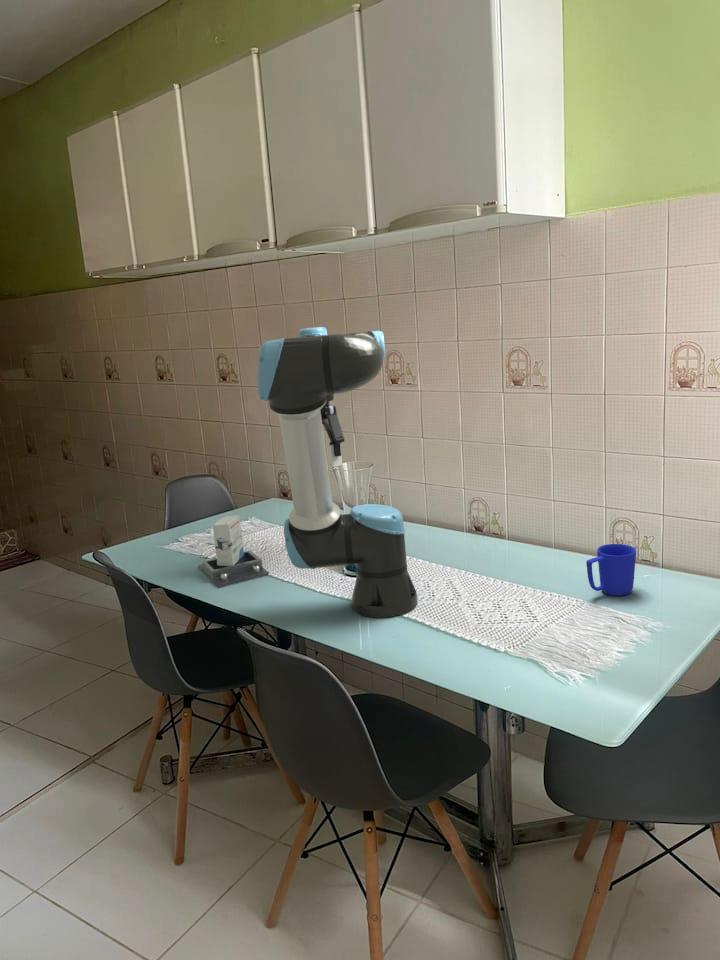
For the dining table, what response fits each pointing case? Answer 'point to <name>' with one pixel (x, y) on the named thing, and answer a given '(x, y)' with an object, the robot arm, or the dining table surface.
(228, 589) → the dining table surface
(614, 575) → the mug
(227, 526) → the ink box
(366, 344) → the robot arm
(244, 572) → the tray
